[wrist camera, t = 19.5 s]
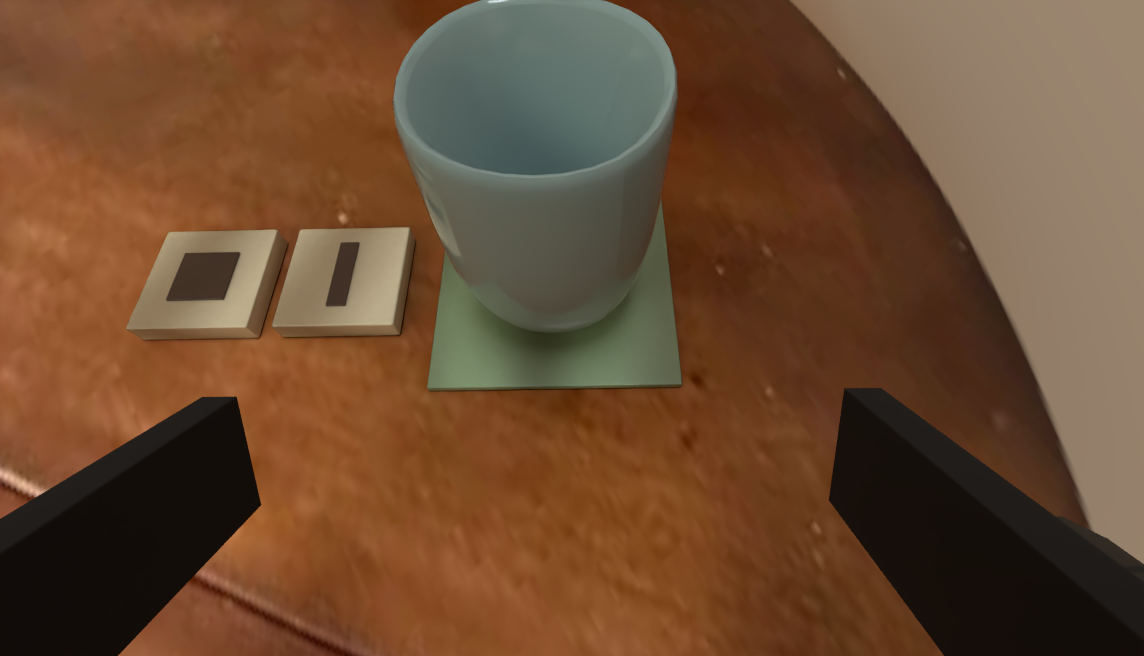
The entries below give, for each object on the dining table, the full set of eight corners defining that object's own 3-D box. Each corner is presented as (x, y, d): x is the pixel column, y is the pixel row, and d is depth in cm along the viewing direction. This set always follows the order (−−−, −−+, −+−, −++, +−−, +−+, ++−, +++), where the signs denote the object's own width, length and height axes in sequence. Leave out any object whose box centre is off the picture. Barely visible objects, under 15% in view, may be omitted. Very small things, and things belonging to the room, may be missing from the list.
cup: (653, 221, 24) (693, 0, 15) (632, 375, 21) (667, 202, 12) (491, 200, 25) (438, -21, 16) (442, 345, 21) (342, 162, 13)
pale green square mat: (659, 193, 25) (662, 177, 24) (681, 387, 21) (686, 376, 20) (200, 204, 26) (185, 187, 25) (119, 395, 21) (96, 385, 20)
